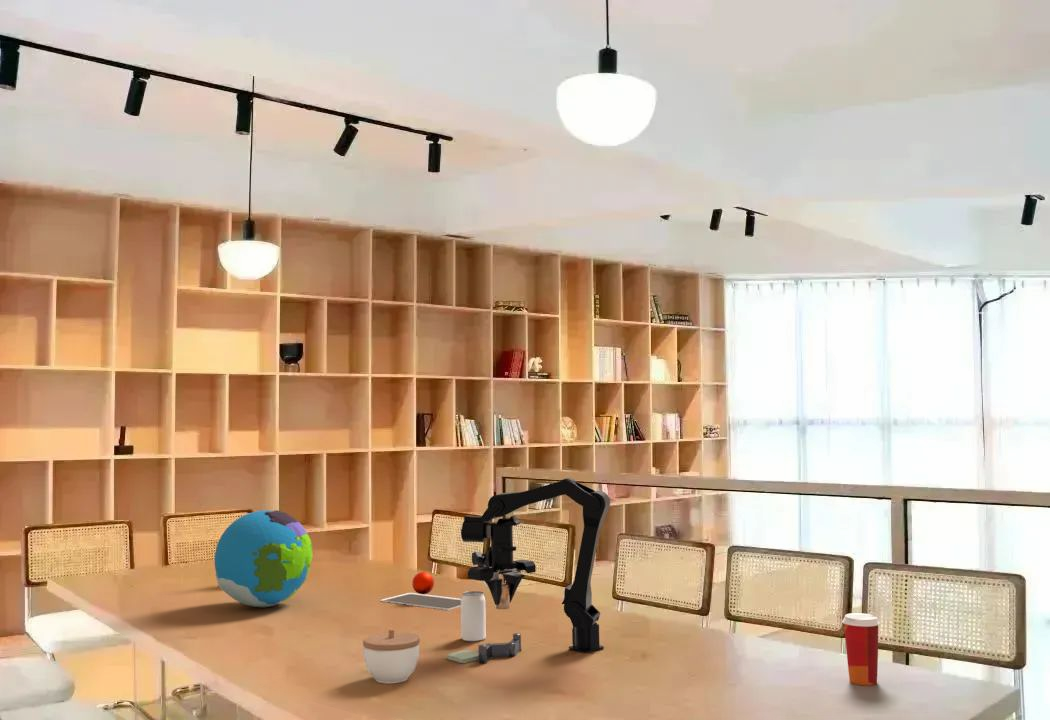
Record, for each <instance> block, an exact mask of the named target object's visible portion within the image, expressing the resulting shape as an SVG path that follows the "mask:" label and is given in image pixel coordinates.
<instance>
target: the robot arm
mask: <svg viewBox="0 0 1050 720" xmlns="http://www.w3.org/2000/svg"><path fill="white" fill-rule="evenodd" d="M564 495H565V496H567V497H568V498H570V499H571V500H573V501H574V502H575V503H577V504H578V505H579V506H581V507H582V520H583V521H582V522H583V531H582V536H581V541H580V546H579V547H580V548H579V552H578V558H577V561H576V569H575V574H574V579H573V582H572V583H570V584H568V585H567V586H566V587H565V588H564V592H563V593H564V594H563V595H564V597H563V600H562V602H561V605H563V612H564V613H565V615H566V617H568V618H569V620H570V622H571V625H572V629H571V631H572V632H571V634H572V638H571V639H572V640H571V641H572V645H570V646H568V649H570V650H573V651H577V652H581V653H586V654H587V653H591V652H595V651H599V650H603V649H605V646H604V645H600V624H598V623H597V622H598V621H599V620H600V616H601V612H600V611H599V609H597V608H596V607H595V606H594V605H593V603H592V599H593V598H592V595H593V593H592V583H591V580H592V575H593V570H594V565H595V560H596V554H597V548H598V543H599V537H600V532H601V528H602V526H603V523H604V521H605V520H606V519H605V518H606V517H607V515H608V511H609V509H610V506H611V499H610V496H609V495H608V493H606V492H605V491H603V490H594V489H593V488H592V487H589V486H587V485H585V484H583V483H580V482H578V481H577V480H575V479H574V478H571V477H565V478H563V479H561V480H559V481H556V482H553V483H552V482H551V483H548V484H545V485H543V486H539V487H535V488H531V489H527V490H524V491H513V492H512V491H511V492H503V493H501V492H500V493H499V494H495V495H492V496H491V497H490V498H489V500H488V502H487V508H486V509H485V511H484V512H483V514H482V515H481V516H480V515H479V516H474V515H470V514H469V515H465V516H464V517H463V522H462V525H461V528H460V534H461V535H460V536H461V540H462V541H463V542H464V543H485V542H487V540H488V539H490V546H487V548H486V552H485V553H482V552H481V550H480V551H474V552H471V563H472V565H473V566H471V567H469V569H468V570H467V579H468V580H469V579H470V580H473V581H480V582H481V581H482V582H483V581H484V583H485V584H486V585H487V587H488V589H489V591H490V595H491V597H492V599H493V602H494V605H495V606H496V605H499V602H500V596H501V587H502V583H503V579H504V581H505V583H508V584H509V589H510V604H511V602H512V600H513V598H514V596H515V593H516V591H517V589H518V587H519V585H520V583H521V581H522V579H523V578H525V574H522V571H524V572H525V573H526V574H532V573H536V572H537V566H536V564H535V562H534V561H533V560H529V559H528V560H527V559H517V560H514V552H515V551H517V546H514V535H513V534H514V532H513V529H514V527H515V526H519V525H521V521H520V520H519V519H518V518H516V516H515V515H512V516H510V517H509V518H501V517H504V516H507V515H510V514H512V513H514V512H516V511H518V510H520V509H522V508H524V507H526V506H528V505H531V504H535V503H538V502H543V501H546V500H549V499H554V498H557V497H561V496H564ZM497 518H499V519H497ZM495 519H497V521H492V520H495ZM513 526H514V527H513ZM501 574H502V577H503V578H500V575H501Z"/></svg>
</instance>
